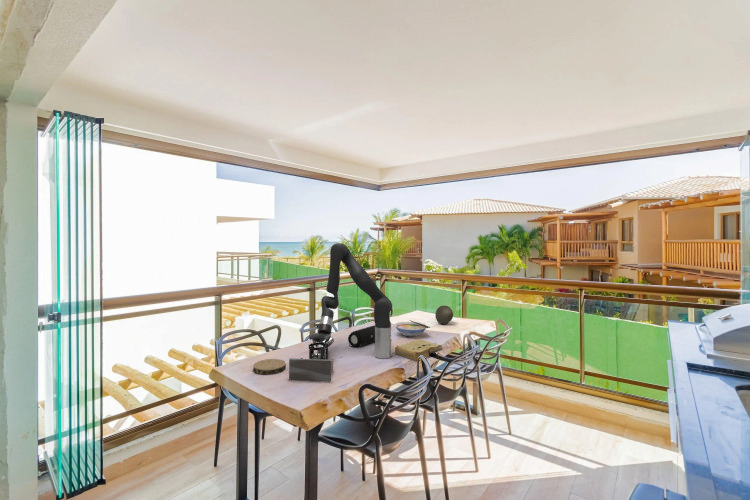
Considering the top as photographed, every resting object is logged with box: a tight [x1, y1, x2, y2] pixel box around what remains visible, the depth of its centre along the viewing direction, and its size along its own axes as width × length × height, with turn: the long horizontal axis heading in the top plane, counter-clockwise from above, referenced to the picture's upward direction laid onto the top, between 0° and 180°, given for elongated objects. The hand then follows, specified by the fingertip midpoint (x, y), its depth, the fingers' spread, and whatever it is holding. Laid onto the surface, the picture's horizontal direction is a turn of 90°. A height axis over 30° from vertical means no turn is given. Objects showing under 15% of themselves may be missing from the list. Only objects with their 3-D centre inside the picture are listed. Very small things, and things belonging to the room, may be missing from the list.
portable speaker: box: [347, 324, 375, 348], centre depth 232 cm, size 26×10×10 cm, turn 142°
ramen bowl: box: [394, 319, 431, 338], centre depth 253 cm, size 25×23×8 cm
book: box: [394, 338, 444, 363], centre depth 212 cm, size 25×17×6 cm
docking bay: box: [288, 357, 334, 382], centre depth 176 cm, size 14×20×10 cm
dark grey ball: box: [434, 305, 454, 325], centre depth 288 cm, size 14×14×15 cm
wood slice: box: [252, 358, 287, 376], centre depth 183 cm, size 16×16×3 cm
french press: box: [308, 323, 329, 360], centre depth 186 cm, size 12×9×23 cm
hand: (320, 354), depth 191 cm, fingers closed
